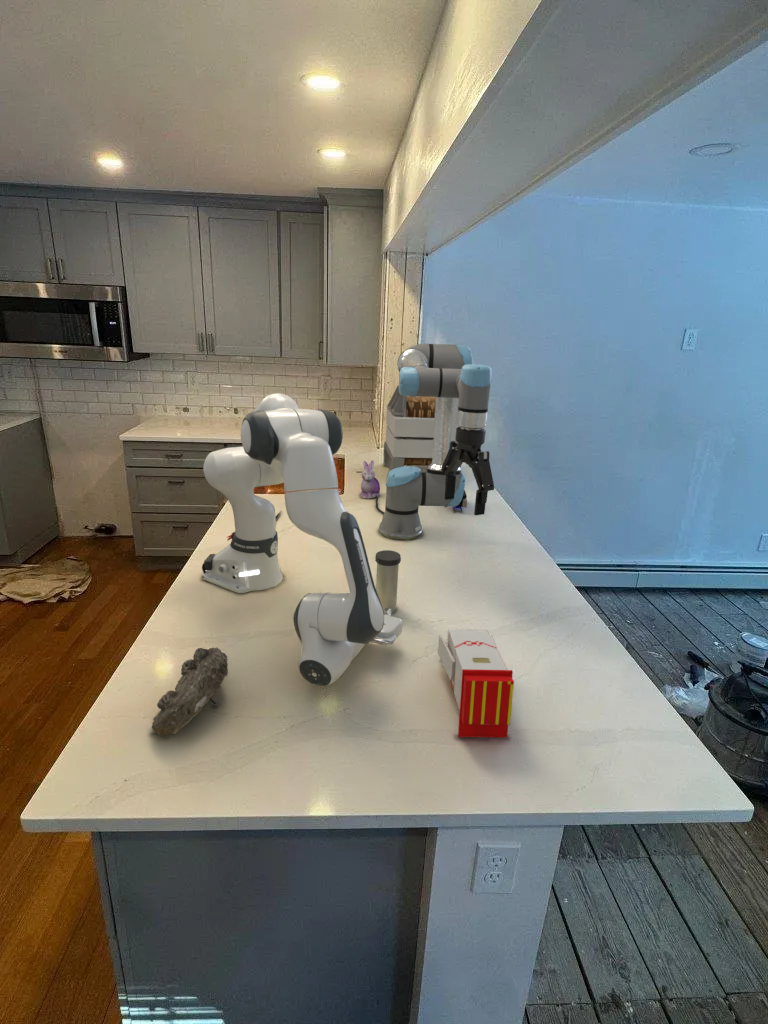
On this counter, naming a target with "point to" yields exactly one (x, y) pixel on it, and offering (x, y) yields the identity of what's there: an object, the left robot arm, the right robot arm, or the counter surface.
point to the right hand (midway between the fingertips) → (463, 506)
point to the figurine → (369, 482)
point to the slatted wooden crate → (409, 431)
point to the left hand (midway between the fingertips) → (370, 606)
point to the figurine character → (462, 502)
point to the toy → (478, 682)
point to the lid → (388, 558)
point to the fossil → (191, 690)
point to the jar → (387, 585)
